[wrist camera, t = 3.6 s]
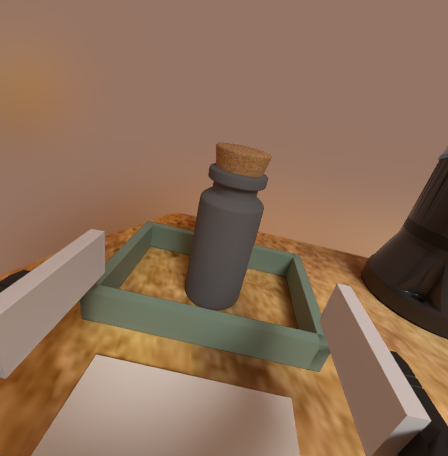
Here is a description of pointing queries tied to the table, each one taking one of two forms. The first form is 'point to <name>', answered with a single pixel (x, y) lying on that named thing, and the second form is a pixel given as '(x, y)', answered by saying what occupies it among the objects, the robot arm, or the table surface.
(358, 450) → the table surface
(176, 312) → the green rectangular frame
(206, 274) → the bottle
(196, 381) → the tile
